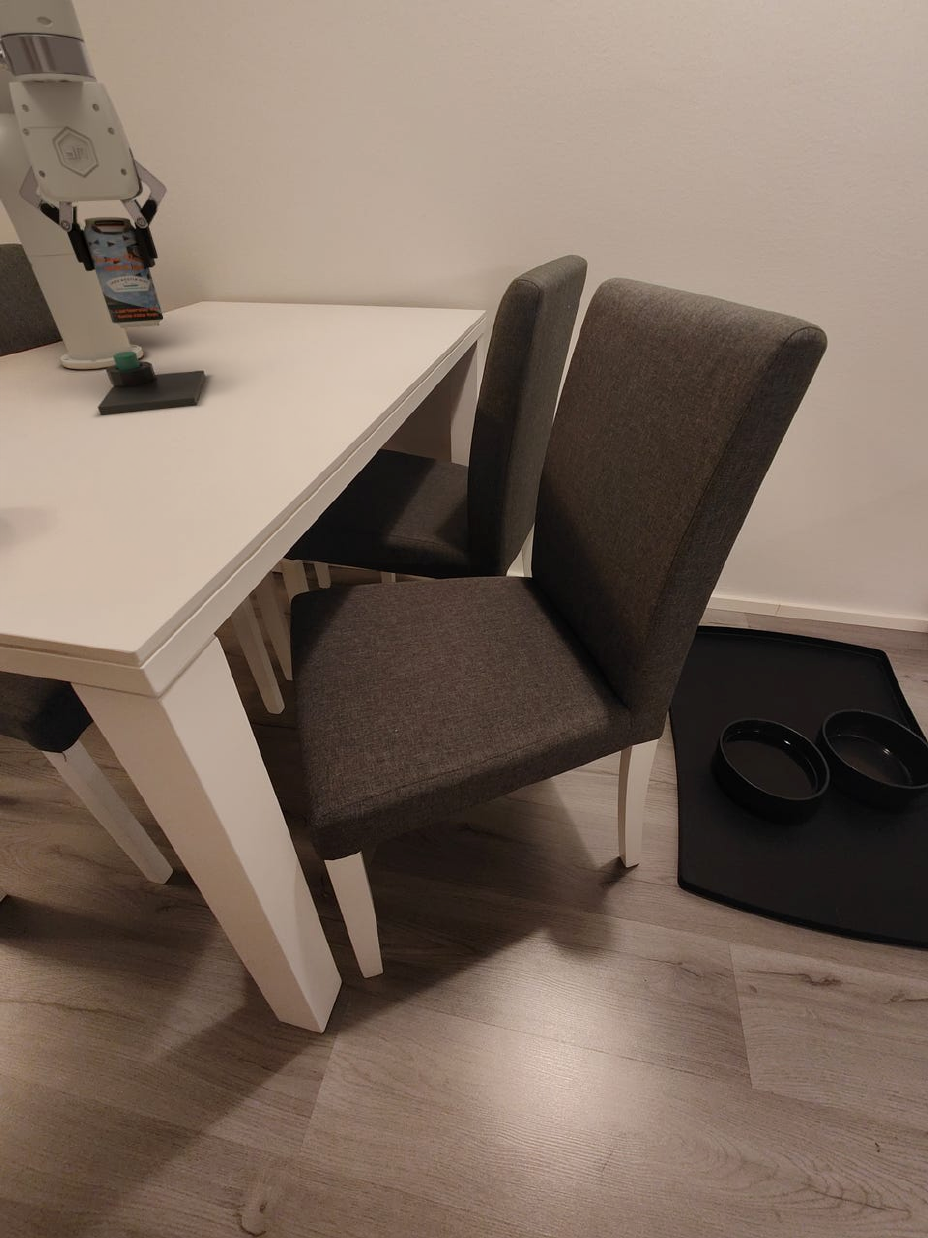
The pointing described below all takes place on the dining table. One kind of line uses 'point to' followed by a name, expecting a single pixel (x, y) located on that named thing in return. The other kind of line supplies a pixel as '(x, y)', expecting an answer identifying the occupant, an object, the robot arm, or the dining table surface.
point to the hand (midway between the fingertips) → (121, 266)
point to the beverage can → (122, 272)
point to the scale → (150, 389)
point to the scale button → (126, 360)
